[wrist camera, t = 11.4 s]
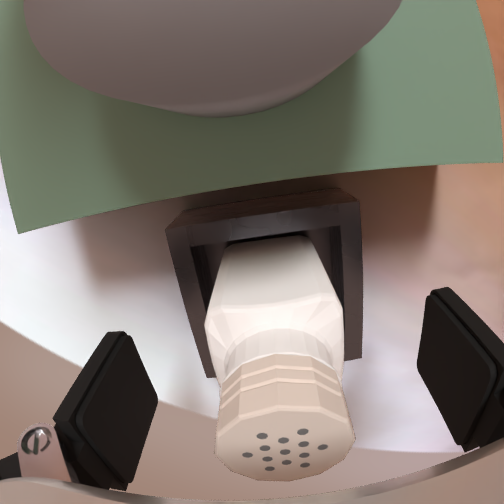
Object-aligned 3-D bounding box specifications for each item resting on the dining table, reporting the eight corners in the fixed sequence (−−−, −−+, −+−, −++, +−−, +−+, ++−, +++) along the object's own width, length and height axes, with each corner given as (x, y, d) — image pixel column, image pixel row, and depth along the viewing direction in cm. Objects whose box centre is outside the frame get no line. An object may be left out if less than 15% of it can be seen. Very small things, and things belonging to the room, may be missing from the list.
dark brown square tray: (339, 187, 14) (359, 201, 11) (347, 323, 16) (361, 357, 14) (182, 211, 15) (165, 229, 12) (214, 341, 17) (206, 377, 14)
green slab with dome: (390, -58, 9) (467, -145, 1) (438, 150, 13) (583, 184, 5) (54, -1, 10) (-58, -48, 2) (78, 204, 14) (-54, 276, 6)
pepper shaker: (310, 229, 14) (383, 376, 5) (316, 307, 16) (364, 476, 7) (221, 241, 14) (171, 400, 6) (236, 317, 16) (216, 491, 7)
